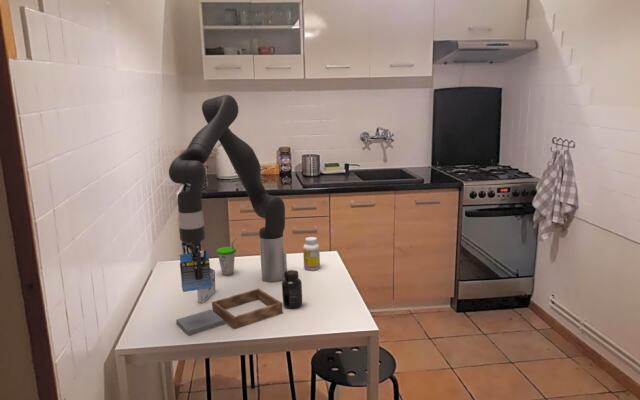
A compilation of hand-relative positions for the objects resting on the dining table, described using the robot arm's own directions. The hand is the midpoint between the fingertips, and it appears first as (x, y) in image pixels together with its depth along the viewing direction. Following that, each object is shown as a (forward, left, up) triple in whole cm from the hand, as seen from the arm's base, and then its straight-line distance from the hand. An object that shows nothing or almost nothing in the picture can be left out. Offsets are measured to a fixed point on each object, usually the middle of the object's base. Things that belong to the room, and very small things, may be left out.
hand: (195, 276), depth 159 cm
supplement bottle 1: (-31, +7, -16) cm, 36 cm away
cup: (-27, -35, -16) cm, 47 cm away
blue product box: (0, 0, -4) cm, 4 cm away
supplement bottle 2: (-57, -18, -16) cm, 62 cm away
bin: (-16, +2, -16) cm, 23 cm away
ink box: (-11, -19, -16) cm, 27 cm away
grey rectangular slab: (0, 0, -16) cm, 16 cm away
